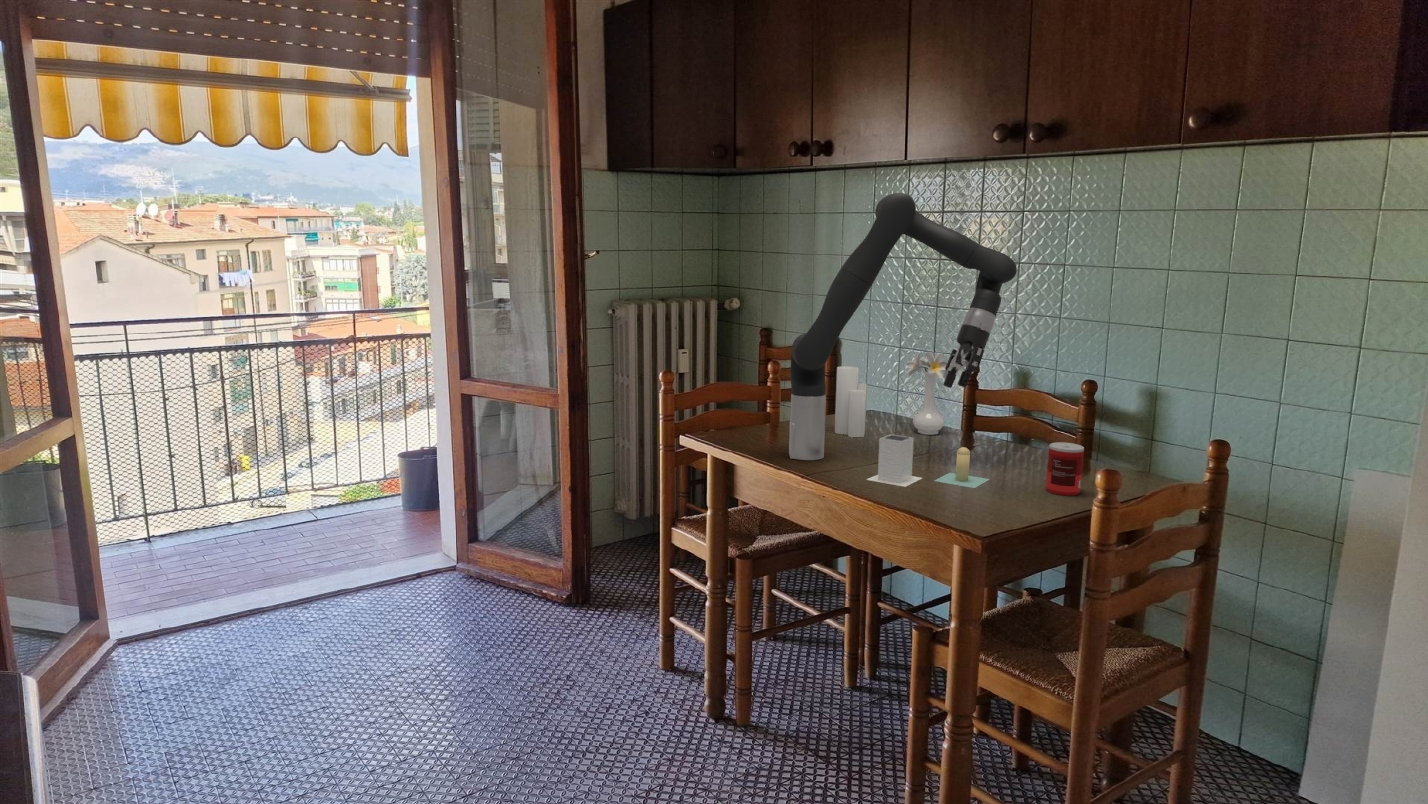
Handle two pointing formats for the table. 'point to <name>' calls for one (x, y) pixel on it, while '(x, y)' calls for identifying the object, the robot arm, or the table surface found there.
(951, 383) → the robot arm
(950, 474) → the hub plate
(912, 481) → the stand
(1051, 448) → the canned food
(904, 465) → the white sleeve
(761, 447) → the table surface
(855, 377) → the white joined cylinders
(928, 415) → the flower vase
